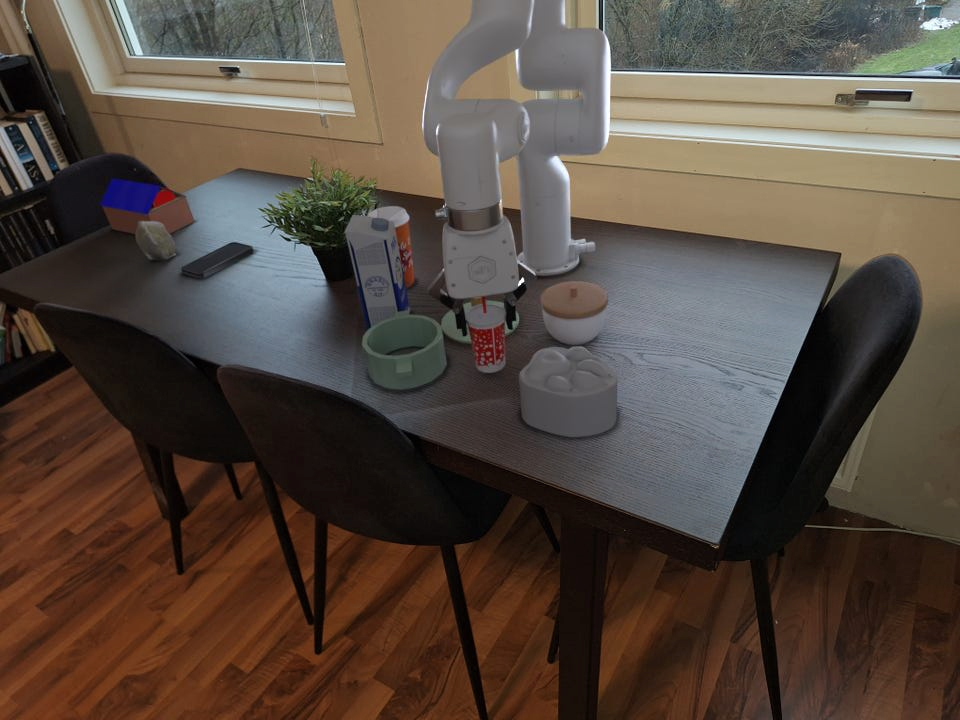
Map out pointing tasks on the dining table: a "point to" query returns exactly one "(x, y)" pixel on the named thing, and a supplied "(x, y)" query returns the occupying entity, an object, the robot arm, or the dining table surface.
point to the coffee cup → (399, 237)
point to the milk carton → (377, 267)
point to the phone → (217, 260)
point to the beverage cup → (487, 335)
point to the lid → (456, 334)
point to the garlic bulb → (155, 240)
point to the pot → (409, 366)
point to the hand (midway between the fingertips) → (486, 327)
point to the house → (144, 206)
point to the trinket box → (574, 311)
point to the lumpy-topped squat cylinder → (568, 392)
